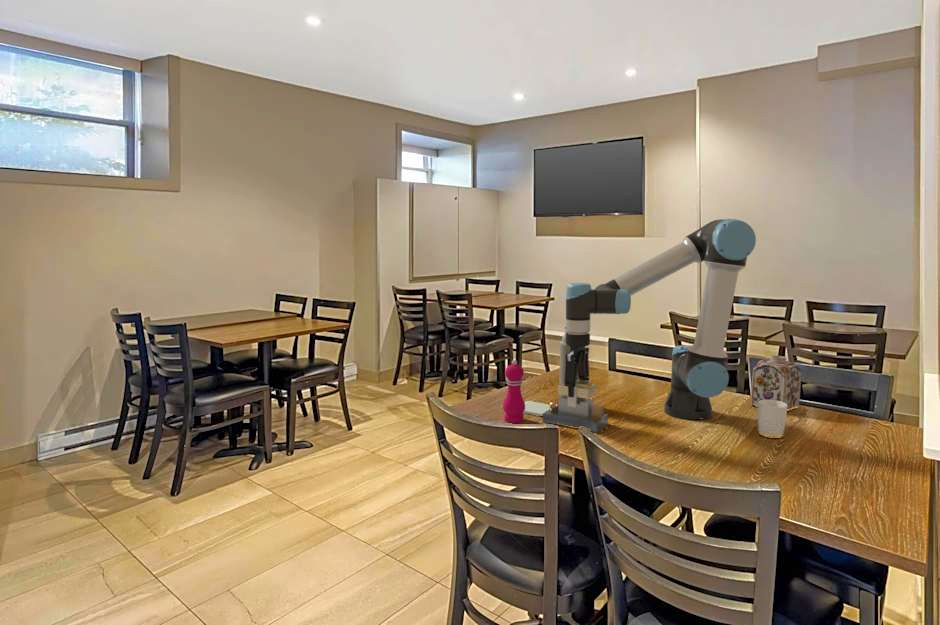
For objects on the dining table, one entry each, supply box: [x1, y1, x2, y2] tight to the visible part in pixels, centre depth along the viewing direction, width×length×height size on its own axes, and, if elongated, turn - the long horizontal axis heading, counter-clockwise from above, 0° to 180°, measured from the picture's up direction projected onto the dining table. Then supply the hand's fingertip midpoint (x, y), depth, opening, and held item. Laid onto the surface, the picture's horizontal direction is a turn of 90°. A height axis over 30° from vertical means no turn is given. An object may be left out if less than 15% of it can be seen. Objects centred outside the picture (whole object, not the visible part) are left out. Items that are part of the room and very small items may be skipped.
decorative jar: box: [750, 355, 802, 409], centre depth 205 cm, size 12×12×18 cm
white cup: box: [757, 400, 788, 436], centre depth 177 cm, size 8×8×10 cm
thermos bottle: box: [558, 326, 580, 399], centre depth 206 cm, size 8×8×28 cm
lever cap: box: [557, 380, 597, 399], centre depth 188 cm, size 10×7×4 cm
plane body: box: [542, 395, 609, 434], centre depth 189 cm, size 18×10×8 cm, turn 58°
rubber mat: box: [522, 400, 550, 417], centre depth 202 cm, size 11×11×1 cm
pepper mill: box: [502, 359, 525, 424], centre depth 191 cm, size 7×7×20 cm
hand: (576, 403), depth 188 cm, fingers closed on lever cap, 7 cm apart
